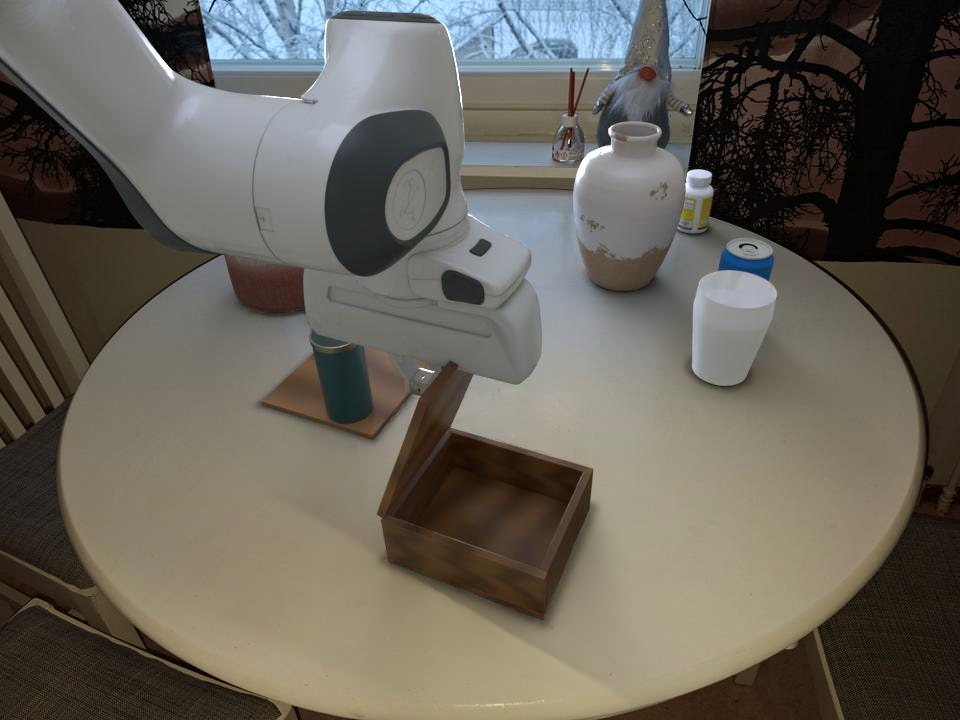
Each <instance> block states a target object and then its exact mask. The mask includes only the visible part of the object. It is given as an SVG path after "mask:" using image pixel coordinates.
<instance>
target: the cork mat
mask: <svg viewBox="0 0 960 720" xmlns="http://www.w3.org/2000/svg"><path fill="white" fill-rule="evenodd" d="M364 349H365V355H366V361H367V368H368V374H369V380H370V386H371V392H372V398H373V405H374V407H373V410H372V412H371V414H370V415H369V416H368V417H366V418H365V419H363V420H361V421H359V422H356V423H352V424H340V423H336V422H334V421H332V420H331V419H330V418H329V417H328V416H327V412H326V408H325V403H324V399H323V394H322V390H321V385H320V380H319V376H318V371H317V367H316V362H315V358H314V353H313V352H312V354H311V355H310V356H309V357H307V358H306V359H305V360H304V361H303V362H302V363H301V364H300V365H299V366H297V368H296V369H294V371H292V372H291V373H290V374H289V375H288V376H287V377H286V378H285V379H284V380H283V381H282V382H280V383H279V384H278V385H277V386H276V387H275V388H274V389H273V390H272V391H270V393H268V394H267V395H266V396H265V397H264V398H263V399H261V401H260V402H261V404H262V406H265V407H268V408H271V409H275V410H278V411H281V412H284V413H287V414H290V415H293V416H297V417H300V418H304V419H306V420H310V421H313V422H316V423H319V424H323V425H326V426H329V427H333V428H336V429H339V430H342V431H345V432H349V433H352V434H353V435H354V434H355V435H357V436H361V437H364V438H368V439H370V440H374V439H375V438H376V436H378V434H379V433H380V432H381V431H382V430H383V428H384V427H385V426H386V425H387V423H388V422H389V421H390V420H391V419H392V417H393V416H395V414H396V412H397V411H398V410H399V409H400V408H401V407H402V406H403V405H404V403H405V402H406V401H407V400H408V398H409V397H410V396H411V395H412V393H407V392H406V391H405V384H404V378H402V376H401V375H400V374H399V372H398V371H397V370H396V368H395V367H394V366H393V364H392V363H391V361H390V360H389V353H388V352H384V351H380V350H376V349H372V348H368V347H364ZM416 361H417V363H418V365H419V366H420V368H421V369H425V370H428V368H427V362H423V361H419V360H416ZM428 371H430V370H428Z"/></svg>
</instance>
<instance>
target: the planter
mask: <svg viewBox="0 0 960 720" xmlns="http://www.w3.org/2000/svg"><path fill="white" fill-rule="evenodd" d="M223 256H224V260H225V264H226V267H227V271H228V274H229V275H228V276H229V278H230V279H229V280H230V282H231V286H232V288H233V292H234V295H235V297H236V299H237V300H238V301H239V302H240V303H241V304H242V305H244V306H245V307H248V308H250V309H253V310H255V311H259V312H264V313H272V314H273V313H274V314H285V313H286V314H287V313H294V312H295V313H296V312H302V311H305V303H304V290H303V274H304V268H297V267H291V266H286V265H280V264H275V263H269V262H264V261H258V260H253V259H248V258H242V257H237V256H231V255H223Z"/></svg>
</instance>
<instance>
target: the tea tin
mask: <svg viewBox="0 0 960 720" xmlns="http://www.w3.org/2000/svg"><path fill="white" fill-rule="evenodd" d="M308 338H309V342H310V343H309V344H310V346H311V348H312V354H313V353H314V358H315V362H316V367H317V371H318V376H319V380H320V385H321V390H322V394H323V399H324V403H325V408H326V412H327V416H328V417H329V418H330V419H331V420H332V421H334V422H336V423H340V424H352V423H356V422H359V421H361V420H363V419H365V418H366V417H368V416H369V415H370V414H371V412H372V410H373V407H374V405H373V398H372V392H371V386H370V380H369V374H368V368H367V361H366V355H365V349H364V346H360V345H356V344H352V343H348V342H344V341H341V340H337V339H333V338H329V337H325V336H321V335H318V334H317V333H316V332H315V331H314V330H313V329H312V328H311V331H310V332H309V336H308Z"/></svg>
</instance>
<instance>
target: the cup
mask: <svg viewBox="0 0 960 720" xmlns="http://www.w3.org/2000/svg"><path fill="white" fill-rule="evenodd" d="M777 297H778V291H777V289H776V287H775V286H774V285H773V284H772V283H771V282H770V280H769V281H767V280H766V279H764V278H762V277H760V276H757V275H754V274H751V273H747V272H742V271H733V270H724V271H718V270H716V271H712V272H709V273H707V274H705V275H704V276H702V277H700V280H699V282H698V285H697V289H696V293H695V296H694V300H693V305H692V345H691V346H692V347H691V350H692V351H691V368H692V369H691V370H692V371H693V373H694V374H695V375H696V377H698V378H699V379H700V380H702V381H704V382H707V383H708V384H712V385H716V386H721V387H722V386H724V387H728V386H729V387H731V386H735V385H738V384H740V383H743V382H744V381H745V380H746V378H747V376H748V374H749V371H750V370H751V367H752V365H753V363H754V361H755V359H756V356H757V354H758V352H759V349H760V347H761V346H762V343H763V342H764V339H765V336H766V334H767V332H768V330H769V328H770V325H771V323H772V321H773V318H774V314H775V313H774V312H775V308H776V307H775V306H776V302H777Z"/></svg>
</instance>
